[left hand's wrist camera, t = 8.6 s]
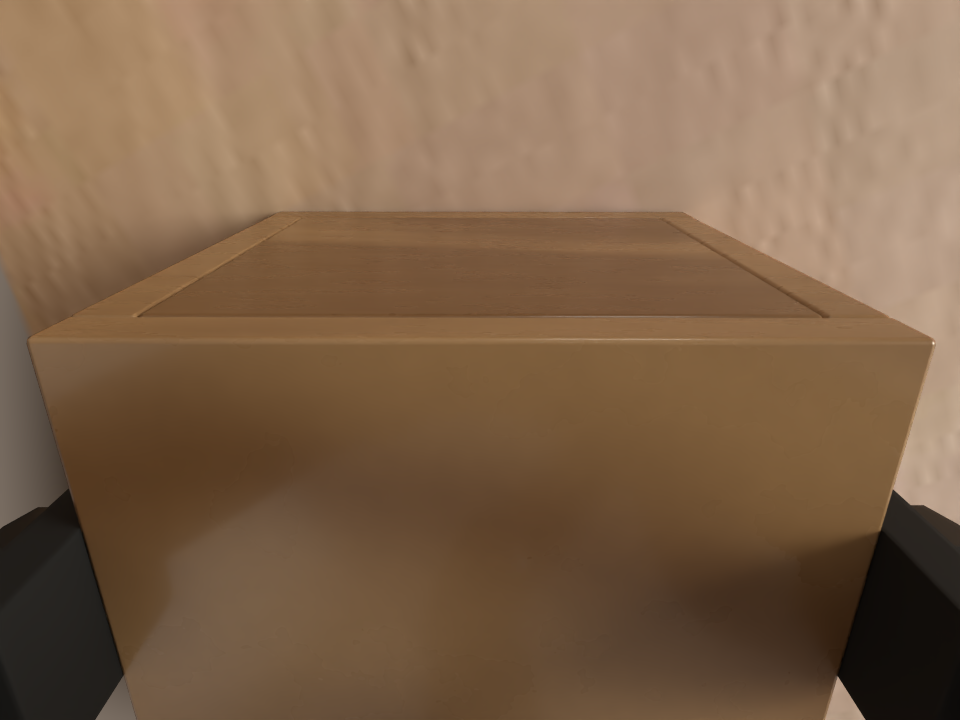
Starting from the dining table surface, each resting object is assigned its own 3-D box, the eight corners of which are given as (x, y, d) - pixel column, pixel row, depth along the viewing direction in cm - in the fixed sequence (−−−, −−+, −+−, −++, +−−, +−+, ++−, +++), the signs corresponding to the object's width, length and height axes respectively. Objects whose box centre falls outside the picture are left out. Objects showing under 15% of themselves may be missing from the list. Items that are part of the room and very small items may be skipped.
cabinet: (621, 721, 24) (710, 1110, 14) (339, 720, 24) (248, 1108, 14) (683, 211, 16) (941, 338, 7) (278, 211, 17) (21, 338, 7)
